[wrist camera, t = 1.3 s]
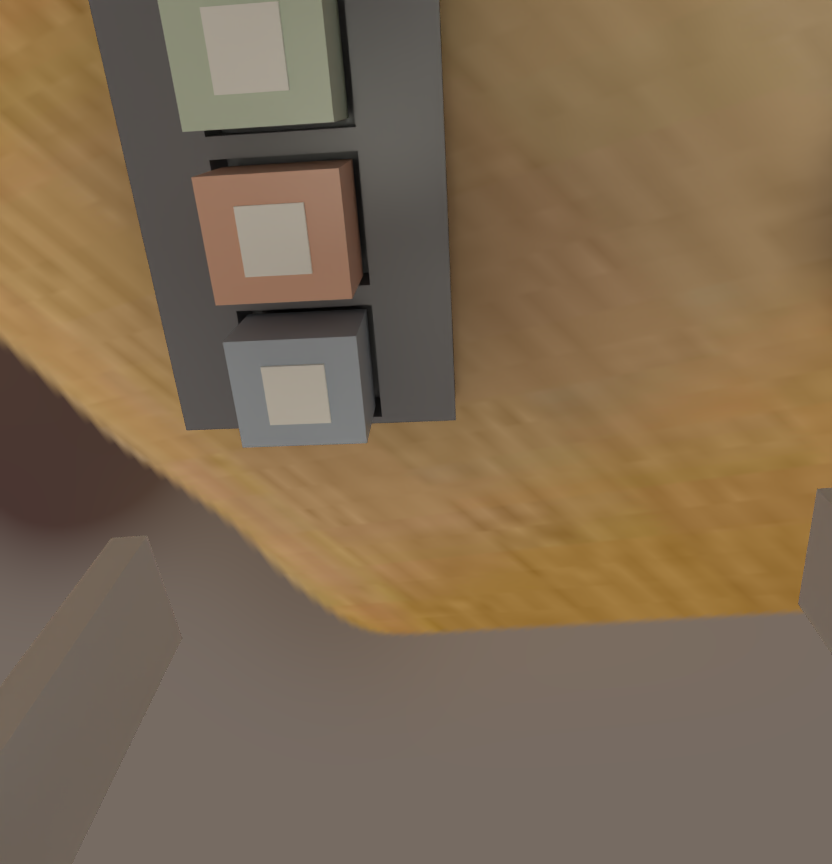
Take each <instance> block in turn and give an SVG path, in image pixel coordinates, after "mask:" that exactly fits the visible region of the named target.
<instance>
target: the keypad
mask: <svg viewBox="0 0 832 864" xmlns="http://www.w3.org/2000/svg"><path fill="white" fill-rule="evenodd" d="M337 2H338V12H339V23H340V33H341V44H342V55H343V65H344V76H345V86H346V97H347V108H348V118H347V119H344V120H340V121H336V122H327V123H312V124H297V125H282V126H266V127H251V128H236V129H221V130H206V131H190V132H182V127H181V122H180V116H179V111H178V106H177V101H176V95H175V90H174V85H173V80H172V74H171V69H170V64H169V59H168V53H167V48H166V43H165V38H164V33H163V27H162V22H161V17H160V12H159V6H158V1H157V0H89V5H90V9H91V14H92V18H93V22H94V27H95V31H96V35H97V40H98V44H99V49H100V53H101V57H102V62H103V66H104V71H105V75H106V79H107V84H108V88H109V93H110V97H111V101H112V106H113V110H114V114H115V119H116V123H117V128H118V132H119V136H120V141H121V145H122V150H123V154H124V158H125V163H126V167H127V171H128V176H129V180H130V185H131V189H132V193H133V198H134V202H135V207H136V211H137V215H138V220H139V224H140V228H141V233H142V237H143V242H144V246H145V250H146V255H147V259H148V264H149V268H150V272H151V277H152V281H153V286H154V290H155V294H156V299H157V303H158V307H159V312H160V316H161V321H162V325H163V329H164V334H165V338H166V343H167V347H168V351H169V356H170V360H171V364H172V369H173V373H174V378H175V382H176V386H177V391H178V395H179V400H180V404H181V408H182V413H183V417H184V421H185V426H186V430H207V429H233V428H239V425H238V420H237V415H236V409H235V404H234V399H233V394H232V389H231V383H230V378H229V373H228V368H227V362H226V357H225V352H224V347H223V341H224V340H225V339H226V338H227V337H228V336H229V335H230V334H231V333H232V331H233V330H234V329H235V328H236V327H237V326H238V325H239V324H240V323H241V321H242V320H243V319H244V318H245V317H246V316H247V315H248V314H268V313H289V312H310V311H331V310H351V309H367V320H368V330H369V341H370V351H371V362H372V373H373V383H374V394H375V404H376V407H375V411H374V415H373V420H372V423H394V422H420V421H447V420H456V412H455V380H454V355H453V329H452V304H451V279H450V253H449V228H448V203H447V177H446V152H445V127H444V101H443V76H442V51H441V25H440V0H337ZM341 159H352V161H353V171H354V182H355V192H356V203H357V214H358V224H359V235H360V245H361V256H362V267H363V277H362V279H361V281H360V283H359V285H358V288H357V290H356V292H355V294H354V296H353V298H352V299H339V300H319V301H299V302H278V303H258V304H237V305H217V306H216V305H215V300H214V294H213V289H212V284H211V279H210V273H209V268H208V263H207V258H206V252H205V247H204V242H203V237H202V231H201V226H200V221H199V216H198V211H197V205H196V200H195V195H194V190H193V184H192V179H191V177H194V176H197V175H200V174H203V173H206V172H209V171H212V170H215V169H218V168H221V167H229V166H245V165H261V164H277V163H293V162H309V161H325V160H341Z"/></svg>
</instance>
